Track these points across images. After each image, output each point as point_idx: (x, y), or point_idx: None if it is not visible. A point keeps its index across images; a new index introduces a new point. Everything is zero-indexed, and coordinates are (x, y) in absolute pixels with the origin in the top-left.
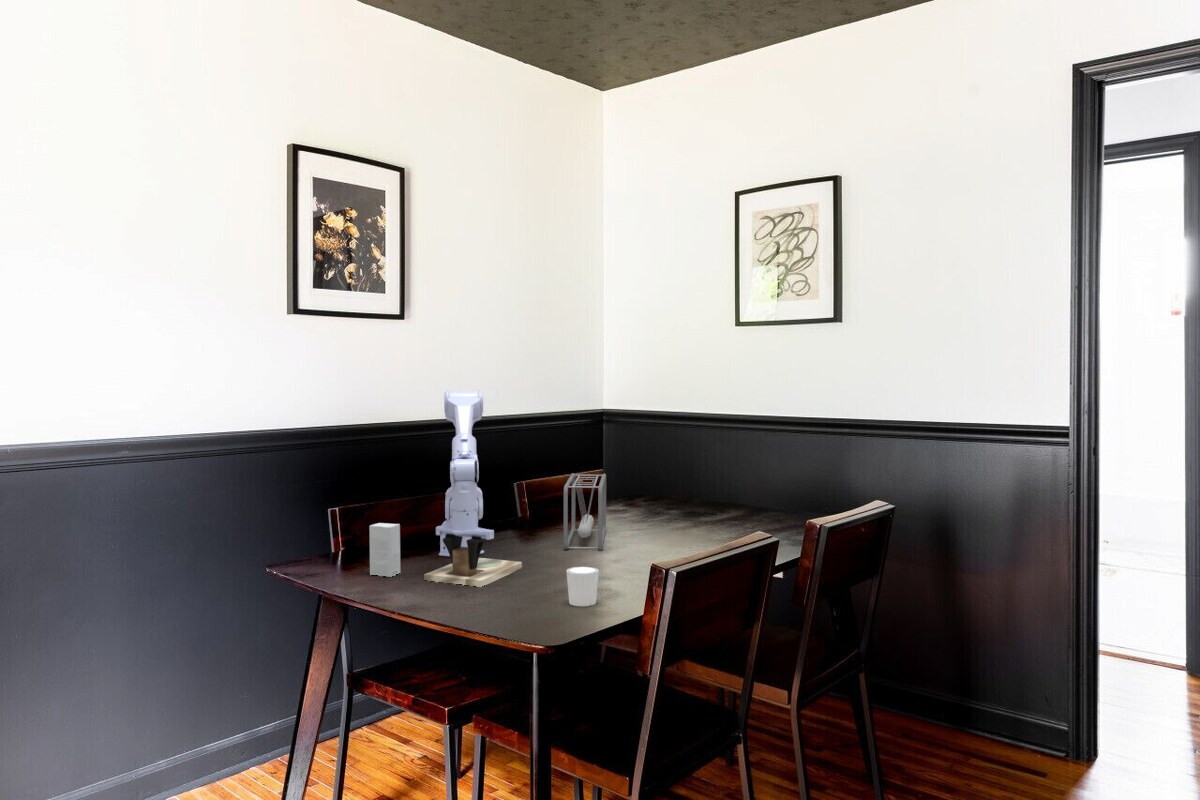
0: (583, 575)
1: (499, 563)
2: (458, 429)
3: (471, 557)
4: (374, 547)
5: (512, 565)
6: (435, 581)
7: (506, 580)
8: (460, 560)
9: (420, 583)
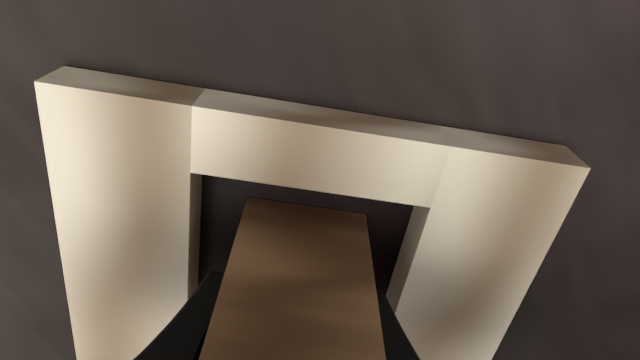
0: None
1: None
2: None
3: (174, 337)
4: None
5: None
6: (470, 131)
7: (26, 266)
8: (296, 309)
9: (582, 73)
